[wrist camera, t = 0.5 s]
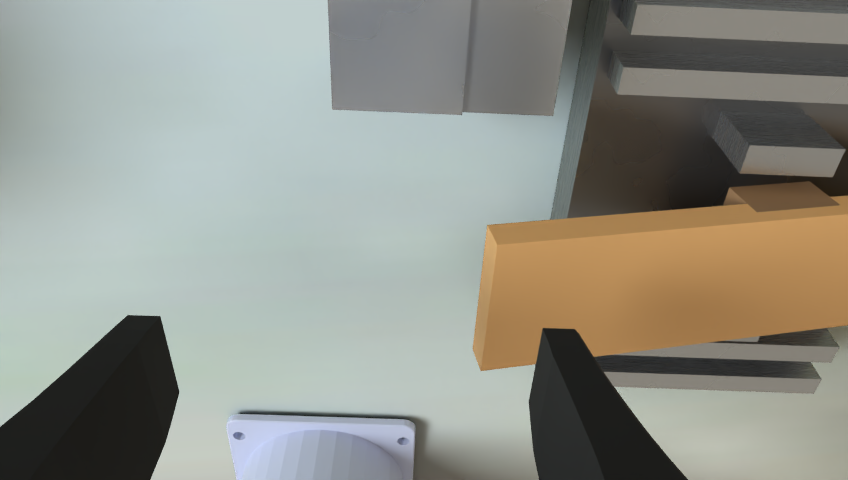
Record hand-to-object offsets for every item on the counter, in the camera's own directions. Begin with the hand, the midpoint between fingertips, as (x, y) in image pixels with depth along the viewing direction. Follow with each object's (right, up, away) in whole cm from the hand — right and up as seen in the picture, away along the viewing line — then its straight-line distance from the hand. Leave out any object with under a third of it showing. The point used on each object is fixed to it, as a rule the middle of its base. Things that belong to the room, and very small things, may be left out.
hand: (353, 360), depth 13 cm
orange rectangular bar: (+10, +2, +6) cm, 12 cm away
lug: (+2, +10, +5) cm, 11 cm away
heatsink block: (+10, +4, +9) cm, 14 cm away
